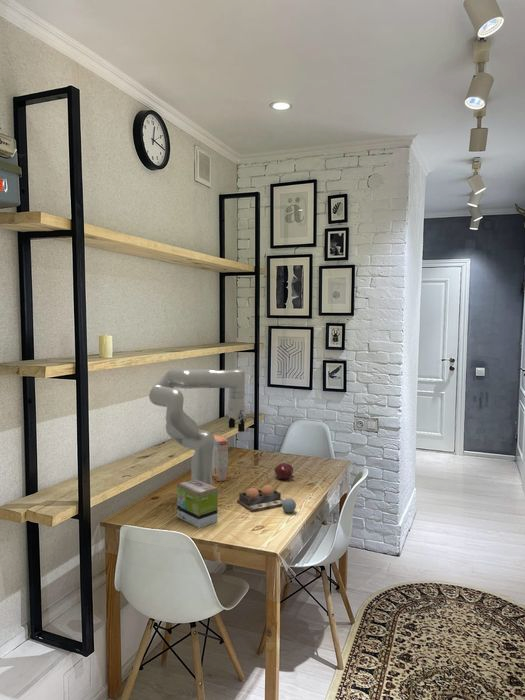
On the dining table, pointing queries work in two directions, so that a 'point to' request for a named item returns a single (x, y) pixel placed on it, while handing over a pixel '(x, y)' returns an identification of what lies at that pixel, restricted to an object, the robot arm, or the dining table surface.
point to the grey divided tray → (260, 501)
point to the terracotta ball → (252, 493)
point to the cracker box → (220, 459)
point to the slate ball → (288, 505)
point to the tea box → (197, 502)
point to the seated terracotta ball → (267, 490)
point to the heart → (284, 471)
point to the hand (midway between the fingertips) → (236, 429)
